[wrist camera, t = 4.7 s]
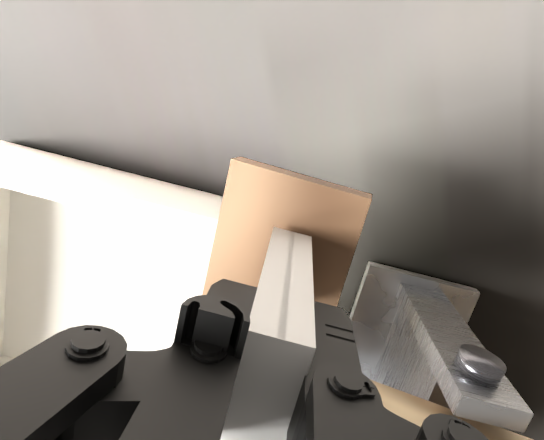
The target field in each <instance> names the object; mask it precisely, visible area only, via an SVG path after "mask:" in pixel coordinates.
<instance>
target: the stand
mask: <svg viewBox="0 0 544 440" xmlns="http://www.w3.org/2000/svg"><path fill="white" fill-rule="evenodd" d="M480 294H481V293H480V292H479V291H478V290H477V289H476V288H473V287H469V286H465V285H461V284H457V283H453V282H449V281H445V280H441V279H437V278H434V277H430V276H426V275H422V274H418V273H414V272H410V271H406V270H402V269H398V268H394V267H390V266H386V265H382V264H378V263H374V262H371V261H368V263H367V266H366V269H365V272H364V275H363V278H362V281H361V284H360V287H359V290H358V293H357V296H356V299H355V302H354V305H353V308H352V311H351V313H350V316H349V318H350V319H351V322H352V327H353V333H354V336H355V343H356V346H357V351H358V356H359V361H360V366H361V370H362V374H364V375H365V376H367V377H368V378H369V379H370V380H373V381H376V382H378V383H381V384H384V385H387V386H389V387H392V388H395V389H397V390H400V391H403V392H406V393H408V394H411V395H414V396H416V397H419V398H422V399H425V400H427V401H430V402H433V403H435V404H438V405H441V406H444V407H446V408H449V409H450V410H451V412H452V414H453V415H454V416H458V417H462V418H466V419H470V420H474V421H478V422H481V423H485V424H489V425H493V426H497V427H501V428H505V429H509V430H513V431H517V432H521V433H524V432H525V430H526V428H527V426H528V424H529V423H530V421H531V419H532V417H533V415H534V413H533V412H532V411H531V409H530V408H529V407H528V405H527V404H526V403H525V401H524V400H523V399H522V397H521V396H520V395H519V393H518V392H517V391H516V389H515V388H514V387H513V385H512V384H511V383H510V381H509V380H508V378H507V377H506V376H505V373H506V371H507V367H506V365H505V364H504V362H503V361H502V360H501V359H500V358H498V357H497V356H496V355H494V354H493V353H491V352H490V351H488V350H486V349H485V348H484V346H483V345H482V344H481V342H480V341H479V339H478V338H477V337H476V335H475V334H474V333H473V331H472V330H471V329H470V327H469V326H468V325H467V323H468V321H469V319H470V316H471V314H472V312H473V310H474V307H475V305H476V303H477V300H478V298H479V296H480Z"/></svg>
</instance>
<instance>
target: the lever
mask: <svg viewBox="0 0 544 440" xmlns="http://www.w3.org/2000/svg"><path fill="white" fill-rule="evenodd" d="M371 200H372V194H370V193H366V192H363V191H359V190H356V189H352V188H349V187H345V186H342V185H338V184H335V183H331V182H328V181H324V180H321V179H317V178H314V177H310V176H307V175H303V174H300V173H296V172H293V171H289V170H286V169H282V168H279V167H275V166H272V165H268V164H265V163H261V162H258V161H254V160H251V159H248V158H244V157H241V156H240V157H236V158H232V159H231V161H230V166H229V170H228V175H227V180H226V185H225V189H224V194H223V199H222V204H221V208H220V213H219V218H218V222H217V227H216V232H215V237H214V241H213V246H212V251H211V256H210V260H209V265H208V270H207V274H206V279H205V284H204V289H203V293H202V295H207V293H208V291H209V289H210V287H211V285H212V284H214V283H216V282H218V281H220V280H221V279H227V280H231V281H234V282H238V283H242V284H246V285H250V286H254V287H258V284H259V280H260V276H261V273H262V269H263V265H264V261H265V258H266V254H267V250H268V246H269V243H270V239H271V235H272V231H273V228H274V227H276V228H280V229H284V230H288V231H292V232H296V233H300V234H303V235H307V236H311V237H312V260H313V286H314V301H317V302H321V303H324V304H328V305H332V306H336V307H337V304H338V301H339V298H340V295H341V292H342V289H343V286H344V283H345V280H346V277H347V274H348V271H349V268H350V265H351V261H352V258H353V255H354V252H355V249H356V246H357V243H358V240H359V237H360V234H361V231H362V228H363V225H364V222H365V219H366V216H367V213H368V209H369V206H370V203H371ZM371 381H372V382H373V383H374V384H375V385H376V387H377V389H378V391H379V393H380V395H381V399H382V403H383V406H384V407H385V408H386V409H387V410H389V411H391V412H393V413H394V414H396V415H398V416H400V417H402V418H404V419H406V420H408V421H410V422H412V423H414V424H416V425H418V426H420V427H421V426H422V423H423V421H424V419H426V418H427V417H428V416H429V415H430V414H438V413H442V414H446V415H451V416H454V415H453V414H452V412H451V410H450V409H449V408H446V407H444V406H441V405H438V404H435V403H433V402H430V401H427V400H425V399H422V398H419V397H416V396H414V395H411V394H408V393H406V392H403V391H400V390H397V389H395V388H392V387H389V386H387V385H384V384H381V383H378V382H376V381H373V380H371ZM454 417H457V418H459V419H461V420H463V421H465V422H467V423H469V424H470V425H472V426H473V427H474V428H476V429H477V430H479V431H480V432H481V433H483V434H484V435H485V436H486V438H487V439H488V440H533V439H531V438H528V437H525V436H522V435H520V434H517V433H514V432H512V431H509V430H506V429H503V428H501V427H497V426H493V425H489V424H485V423H481V422H478V421H474V420H470V419H466V418H462V417H458V416H454Z"/></svg>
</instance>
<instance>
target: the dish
mask: <svg viewBox="0 0 544 440" xmlns="http://www.w3.org/2000/svg"><path fill="white" fill-rule="evenodd" d="M222 199H223V196H219V195H215V194H211V193H208V192H204V191H200V190H196V189H192V188H188V187H184V186H180V185H176V184H172V183H168V182H164V181H160V180H156V179H152V178H148V177H145V176H141V175H137V174H133V173H129V172H125V171H121V170H117V169H113V168H109V167H105V166H101V165H97V164H93V163H89V162H85V161H82V160H78V159H74V158H70V157H66V156H62V155H58V154H54V153H50V152H46V151H42V150H38V149H34V148H30V147H26V146H22V145H19V144H15V143H11V142H7V141H3V140H1V141H0V366H2V365H4V364H5V363H7V362H9V361H10V360H12V359H14V358H16V357H17V356H19V355H21V354H22V353H24V352H26V351H28V350H29V349H31V348H33V347H34V346H36V345H38V344H39V343H41V342H43V341H45V340H46V339H48V338H50V337H51V336H53V335H55V334H57V333H59V332H61V331H63V330H66V329H68V328H71V327H77V326H83V325H96V326H103V327H107V328H110V329H113V330H115V331H116V332H118V333H119V334H121V335H122V336H123V337H124V339H125V341H126V342H127V350H128V351H157V350H162V349H166V348H169V347H171V346H172V344H173V342H174V338H175V333H176V328H177V323H178V318H179V313H180V307H181V304H182V303H183V302H184V301H186V300H187V299H188V298H191V297H194V296H197V295H202V293H203V289H204V284H205V279H206V274H207V270H208V265H209V260H210V256H211V251H212V246H213V241H214V237H215V232H216V227H217V222H218V218H219V213H220V208H221V204H222Z"/></svg>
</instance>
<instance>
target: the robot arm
mask: <svg viewBox="0 0 544 440" xmlns="http://www.w3.org/2000/svg"><path fill="white" fill-rule="evenodd" d="M0 440H488V439H487V438H486V436H485V435H484V434H483V433H481V432H480V431H479V430H477V429H476V428H474V427H473V426H472V425H470V424H469V423H467V422H465V421H463V420H461V419H459V418H457V417H454V416H451V415H446V414H442V413H438V414H430V415H429V416H428V417H427V418H426V419H424V421H423V423H422V426H421V427H420V426H418V425H416V424H414V423H412V422H410V421H408V420H406V419H404V418H402V417H400V416H398V415H396V414H394V413H393V412H391V411H389V410H387V409H386V408H385V407H384V406H383V403H382V399H381V395H380V393H379V391H378V389H377V387H376V385H375V384H374V383H373V382H372V381H371V380H370V379H369V378H368V377H367V376H365V375H364V374H362V370H361V366H360V361H359V356H358V351H357V346H356V343H355V336H354V333H353V327H352V322H351V319H350V318H349V316H348V315H347V314H346V313H345V311H344V310H343V309H342V308H340V307H336V306H332V305H328V304H324V303H321V302H317V301H314V286H313V260H312V237H311V236H307V235H303V234H300V233H296V232H292V231H288V230H284V229H280V228H276V227H274V228H273V231H272V235H271V239H270V243H269V246H268V250H267V254H266V258H265V261H264V265H263V269H262V273H261V276H260V280H259V284H258V287H254V286H250V285H246V284H242V283H238V282H234V281H231V280H227V279H221V280H220V281H218V282H216V283H214V284H212V285H211V287H210V289H209V291H208V293H207V295H197V296H194V297H191V298H188V299H187V300H186V301H184V302H183V303H182V304H181V307H180V313H179V318H178V323H177V328H176V333H175V338H174V342H173V344H172V346H171V347H169V348H166V349H162V350H157V351H128V350H127V342H126V341H125V339H124V337H123V336H122V335H121V334H119V333H118V332H116V331H115V330H113V329H110V328H107V327H103V326H96V325H83V326H77V327H71V328H68V329H66V330H63V331H61V332H59V333H57V334H55V335H53V336H51V337H50V338H48V339H46V340H45V341H43V342H41V343H39V344H38V345H36V346H34V347H33V348H31V349H29V350H28V351H26V352H24V353H22V354H21V355H19V356H17V357H16V358H14V359H12V360H10V361H9V362H7V363H5V364H4V365H2V366H0Z"/></svg>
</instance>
